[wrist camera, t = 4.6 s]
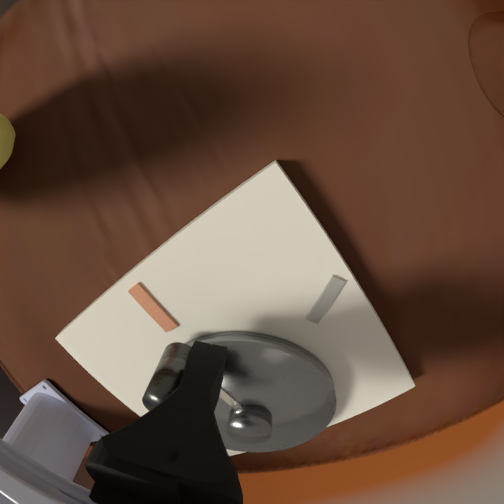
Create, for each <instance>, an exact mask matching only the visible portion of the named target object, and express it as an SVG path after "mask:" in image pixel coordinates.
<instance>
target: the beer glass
mask: <svg viewBox="0 0 504 504" xmlns="http://www.w3.org/2000/svg"><path fill="white" fill-rule="evenodd" d="M469 48H470V55H471V60H472V64H473V67H474V71H475V73H476V76H477V78H478V81H479V83H480V85H481V87H482V89H483V91H484V93H485V94H486V96H487V97H488V99H489V100H490V102H491V103H492V104H493V106H494V107H495V108H496V109H497V110H498V111H499V112H500V113H501V114H502V115H503V116H504V11H499V12H489V13H485V14H482V15H480V16H479V17H478V18H477V19H476V20H475V21H474V23H473V24H472V27H471V30H470V35H469Z"/></svg>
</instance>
